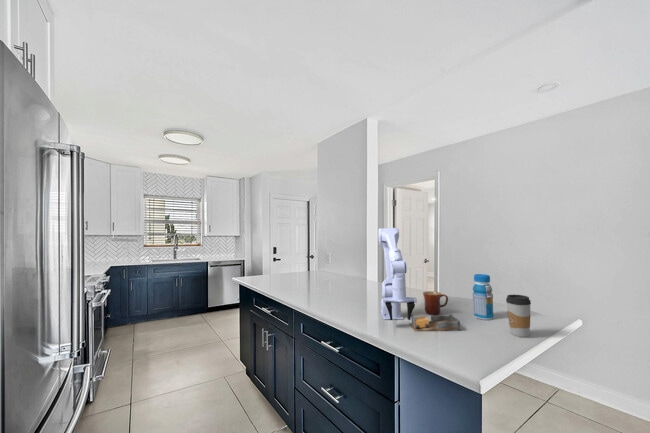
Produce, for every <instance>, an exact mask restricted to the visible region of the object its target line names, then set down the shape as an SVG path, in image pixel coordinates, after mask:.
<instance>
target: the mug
mask: <svg viewBox="0 0 650 433" xmlns="http://www.w3.org/2000/svg"><path fill="white" fill-rule="evenodd" d="M422 295H423V297H424V298H423V299H424V312H425V314H426V315H429V316H440V314H441V310H442V309H441V308H444V307H446V306H447V305H448V303H449V297H448V295H446V294H444V293H441V292H438V291H432V290H431V291H423V292H422ZM442 297H445V301H444V303H443V304H441V298H442Z"/></svg>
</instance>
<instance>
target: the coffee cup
mask: <svg viewBox="0 0 650 433" xmlns="http://www.w3.org/2000/svg"><path fill="white" fill-rule="evenodd" d="M505 299H506V300H505V302H506V307H507V308H506V310H507V318H508V326H509V330H510V334H511V335H512V336H514V337H517V338H524V339H525V338H529V337H530V335H531V304H532V303H531V302H532V301H531V299H530V297H529V296H527V295H523V294H522V295H521V294H507V296H506V298H505Z"/></svg>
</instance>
